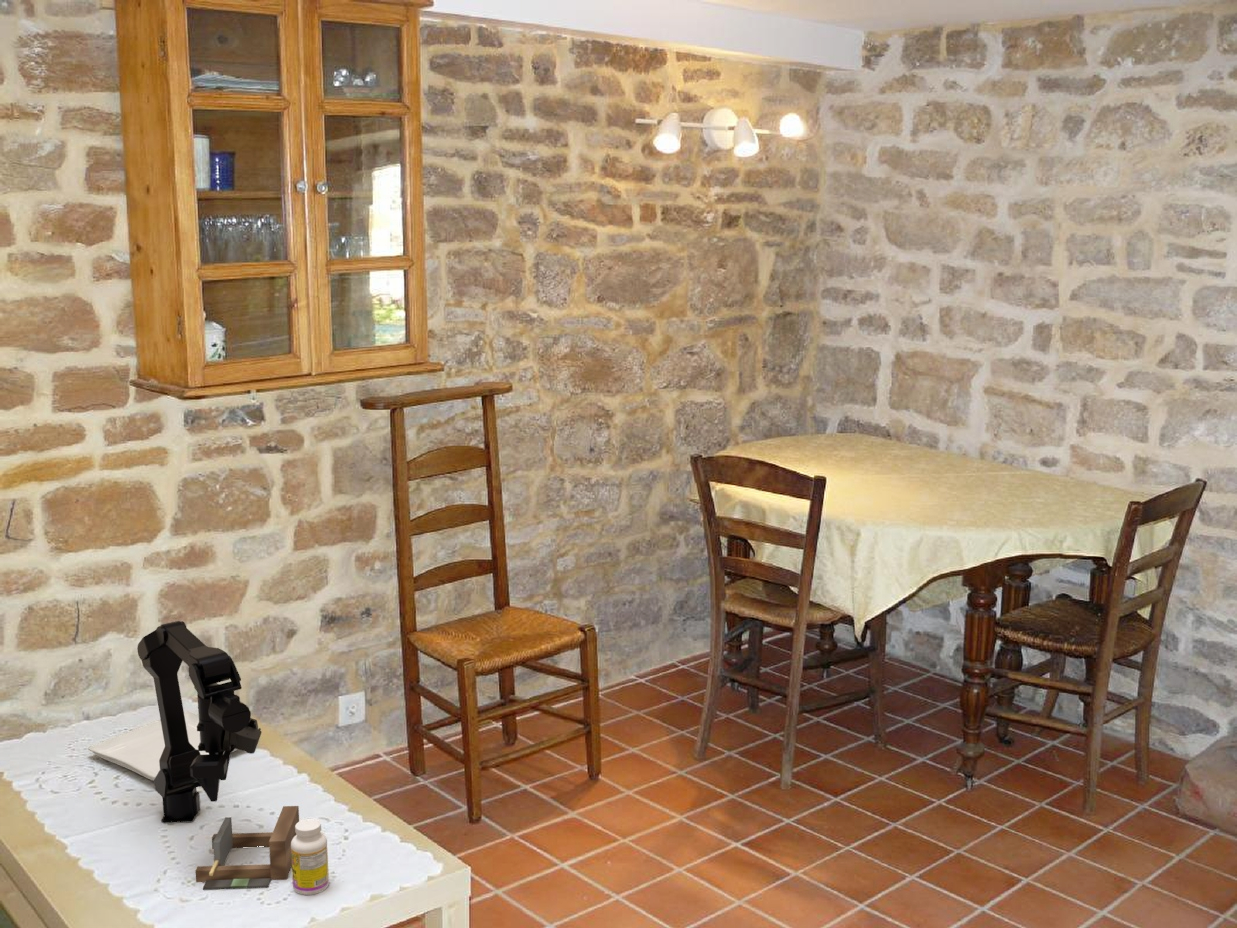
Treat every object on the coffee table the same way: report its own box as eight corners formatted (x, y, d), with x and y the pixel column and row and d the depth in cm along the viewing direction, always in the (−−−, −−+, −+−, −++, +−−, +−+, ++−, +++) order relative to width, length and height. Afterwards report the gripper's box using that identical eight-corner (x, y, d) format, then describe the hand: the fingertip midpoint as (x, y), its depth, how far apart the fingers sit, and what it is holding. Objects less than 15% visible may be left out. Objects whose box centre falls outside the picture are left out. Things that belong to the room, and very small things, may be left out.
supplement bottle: (296, 878, 237) (293, 816, 234) (331, 876, 237) (328, 815, 235) (290, 896, 230) (286, 833, 227) (326, 895, 231) (323, 832, 228)
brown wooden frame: (192, 890, 232) (189, 851, 230) (214, 844, 249) (212, 808, 247) (284, 887, 233) (282, 848, 232) (300, 842, 250) (298, 805, 248)
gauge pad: (208, 884, 232) (206, 855, 231) (226, 845, 247) (225, 817, 245) (214, 884, 232) (212, 855, 231) (233, 844, 247) (231, 817, 245)
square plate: (187, 722, 309) (186, 708, 308) (258, 750, 293) (257, 735, 292) (87, 760, 287) (85, 744, 286) (157, 792, 272) (156, 776, 271)
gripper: (248, 733, 232) (252, 810, 235) (264, 695, 250) (268, 767, 253) (187, 736, 231) (192, 813, 234) (207, 698, 249) (212, 770, 252)
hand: (218, 790), depth 243 cm, fingers open, 9 cm apart
